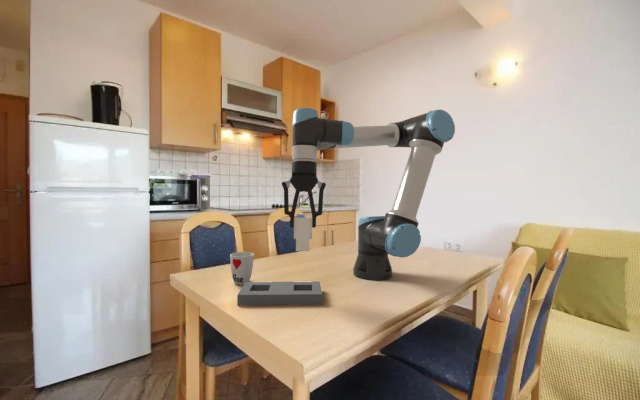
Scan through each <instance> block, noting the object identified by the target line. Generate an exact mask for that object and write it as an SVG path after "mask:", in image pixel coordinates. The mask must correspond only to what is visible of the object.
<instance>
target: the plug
mask: <svg viewBox="0 0 640 400" xmlns="http://www.w3.org/2000/svg"><path fill="white" fill-rule="evenodd" d="M296 216H297V220H296V239H295V252H310V242H311V241H310V240H311V239H310V217H311V216H306V214H305V213H304V214H303V213H296Z"/></svg>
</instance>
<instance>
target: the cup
mask: <svg viewBox="0 0 640 400" xmlns="http://www.w3.org/2000/svg"><path fill="white" fill-rule="evenodd" d="M254 257H255V253H253V252H250V251H239V252H238V251H237V252H232V253H230V255H229V258H230V259H229V260H230V271H231V277H232V280H233V284H235V285H239V286H240V285H244V284H245V282H251V281H250V280H251V278H252V273H253V268H254Z"/></svg>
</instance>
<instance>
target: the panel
mask: <svg viewBox="0 0 640 400" xmlns="http://www.w3.org/2000/svg"><path fill="white" fill-rule="evenodd" d="M236 297H237V306H309V305H310V306H311V305H313V306H315V305H318V306H319V305H321V306H323V292H322V286H321V282H320V281H308V280H307V281H306V280H305V281H304V280H303V281H302V280H301V281H298V280H297V281H295V280H294V281H273V280H272V281H249V282H245V284H243V286H242V287H241V288H240V290H239V291H238V292H237V296H236Z"/></svg>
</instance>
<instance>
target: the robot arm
mask: <svg viewBox="0 0 640 400" xmlns="http://www.w3.org/2000/svg"><path fill="white" fill-rule="evenodd" d="M292 116H293V117H292V123H291V126H292V145H291V146H292V147H291V159H292V160H293V161H292V162H291V176H290V177H289V178H290V179H288V180H285V181H282V182H281V185H282V188H283V208H284V211H283V212H284V215H287V216H289V222H290V223H289V226H290V228H293V240H296V220H297V215H296V214H295V213H296V211H297V205H298V201H299V197H300V193H301V192H305V193H307V195H308V201H309V205H310V206H309V207H310V211H311V212H310V213H311V216H309V217H310V240H312V239H313V228H315V229H316V227H317V217H318V216H321V215H323V206H324V204H323V203H324V191H325V189H326V185H327V183H326V182H323V181H319V179H318V176H317V175H318V174H317V171H318V170H317V167H318V166H317V165H318V163H317V162H316V161H318V160H317V159H318V151H322V150H332V149H345V148H348V149H349V148H361V147H377V146H378V147H379V146H387V147H389V148H410V149H411V150H410V153H409V156H408V159H407V162H406V165H405V168H404V171H403V174H402V177H401V180H400V184H399V186H398V189H397V192H396V195H395V199H394V202H393V205H392V208H391V210H389V211H387V212H386V213H385V215H380V216H378V215H376V216H362V217H361V216H360V218H359V220H358V225H357V228H358V229H357V231H358V232H357V233H358V234H357V237H358V238H357V239H358V240H357V242H358V245H357V256H356V260H355V263H354V265H353V268H352V270H353V273H352V274H353V275H354V276H355V277H357V278H360V279H364V280H372V281H383V280H388V279H391V278H392V277H393V267H392V265H391V262H390V258H389V256H393V257H396V258H407V257H410V256H412V255H413V254H415V253H416V251H417V250H418V249H419V246H420V244H421V241H422V236H421V234H420V233H421V231H420V229H419V228H418V227H419V221H418V220H417V215H418V211H419V208H420V205H421V201H422V199H423V195H424V192H425V188H426V186H427V182H428V179H429V177H430V173H431V171H432V166H433V164H434V161H435V158H436V156H437V155H439V154H440V153H441V152H442V151H443V147H444V144H445V143H447V142H449V141H451V140H452V139H453V138H454V136H455V132H456V126H455V122H454V120H453V118H452V116H451V114H450V113H448V111H446V110H444V109H436V110H435V109H434V110H430V111H428V112H426V113H423V114H419V115H416V116H413V117H410V118H408V119H404V120H402V121H398V122H389V123H388V124H386V125H369V126H367V125H365V126H364V125H363V126H354V125H353V123H351V122H349V121H345V120H338V119H329V118H322V117H319V113H318V111H317V110H316V109H314V108H311V107H299V108H296V109H295V110H294V111H293V115H292ZM290 185H292V187H293V188H294V189H295V193H294V197H293V201H292V205H291V210H290V209H289V208H290V205H289V203H290V202H289V189H290V187H291V186H290ZM315 186H317V189H319V190H318V203H317V205H318V206H317V211H316V207H315V201H314V195H313V190H314V189H315Z"/></svg>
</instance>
